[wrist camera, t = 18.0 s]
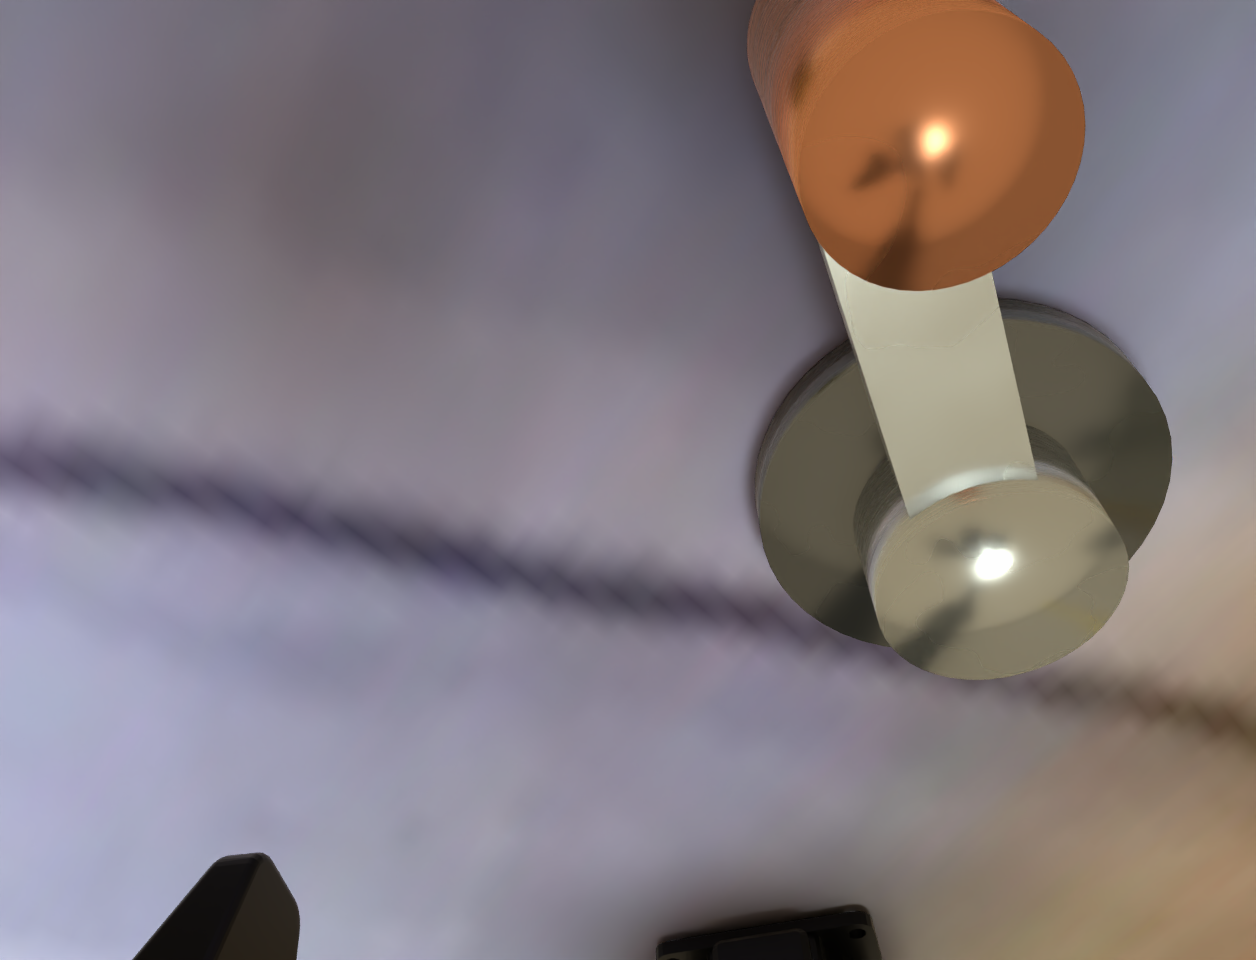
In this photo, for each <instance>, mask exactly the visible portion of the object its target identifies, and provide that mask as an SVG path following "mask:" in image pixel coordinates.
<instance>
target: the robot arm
mask: <svg viewBox="0 0 1256 960" xmlns="http://www.w3.org/2000/svg"><path fill="white" fill-rule="evenodd" d="M299 932H300V916H299V910H298V906H297V903H296V901H295V899H294V897H293V895H292V894H291V892H290V890H289V889H288V887H287V885H286V883H285V882H284V880H283V878H282V877H281V875H280V873H279V871H278V870H277V868H276V866H275V864H274V863H273V861H272V860H271V858H270V857H269V856H267V855H266V854H264V853H249V854H239V855H229V856H225V857H222V858H220V859H219V860H217V861H216V862H215V863H214V864H212V866H211V867H210V868H209V869H208V870H207V871H206V872H205V874H204V875H203V876H202V877H201V878H200V880H199V881H198V882H197V883H196V884H195V886H194V887H193V888H192V889H191V890H190V891H189V893H188V894H187V895H186V896H185V897H184V899H183V900H182V901H181V902H180V903H179V905H178V906H177V907H176V908H175V909H174V911H173V912H172V913H171V914H170V915H169V916H168V918H167V919H166V920H165V921H164V922H163V924H162V925H161V926H160V927H159V928H158V930H157V931H156V932H155V933H154V934H153V936H152V937H151V938H150V939H149V940H148V941H147V943H146V944H145V945H144V946H143V947H142V949H141V950H140V951H139V952H138V953H137V955H136V956H135V957H134V958H133V959H132V960H296V958H297V949H298V941H299ZM656 960H882V957H881V953H880V949H879V945H878V941H877V937H876V933H875V929H874V925H873V921H872V918H871V916H870V915H869V914H867V913H865V912H860V911H855V912H847V913H841V914H834V915H828V916H822V917H816V918H810V919H803V920H797V921H791V922H785V923H779V924H772V925H766V926H760V927H754V928H748V929H741V930H735V931H729V932H723V933H717V934H710V935H704V936H698V937H692V938H686V939H679V940H673V941H668V942H664V943H662V944H660V945H658V947H657V948H656Z"/></svg>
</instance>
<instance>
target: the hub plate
mask: <svg viewBox="0 0 1256 960" xmlns="http://www.w3.org/2000/svg"><path fill="white" fill-rule="evenodd" d="M998 303H999V307H1000V312H1001V316H1002V321H1003V325H1004V330H1005V334H1006V339H1007V343H1008V348H1009V352H1010V357H1011V361H1012V366H1013V370H1014V375H1015V379H1016V384H1017V388H1018V393H1019V397H1020V402H1021V406H1022V411H1023V415H1024V419H1025V424H1026V425H1029V426H1032V427H1034V428H1036V429H1038V430H1041V431H1043V432H1045V433H1046V434H1048V435H1049V436H1051V437H1052V438H1054V439H1055V440H1057V441H1058V442H1059V443H1060V444H1061V445H1062V446H1063V447H1064V448H1065V449H1066V450H1067V452H1068V453H1069V454H1070V456H1071V457H1072V459H1073V460H1074V462H1075V463H1076V465H1077V467H1078V468H1079V470H1080V471H1081V473H1082V475H1083V476H1084V478H1085V479H1086V481H1087V483H1088V484H1089V486H1090V487H1091V489H1092V491H1093V492H1094V494H1095V495H1096V497H1097V499H1098V500H1099V502H1100V503H1101V505H1102V507H1103V508H1104V510H1105V512H1106V513H1107V515H1108V516H1109V518H1110V520H1111V521H1112V523H1113V524H1114V526H1115V528H1116V529H1117V531H1118V532H1119V534H1120V536H1121V538H1122V540H1123V542H1124V544H1125V547H1126V551H1127V555H1128V561H1129V560H1130V559H1131V557H1132V556H1133V555H1134V553H1135V552H1136V551H1137V550H1138V548H1139V547H1140V546H1141V545H1142V543H1143V542H1144V540H1145V538H1146V537H1147V535H1148V533H1149V532H1150V530H1151V528H1152V527H1153V525H1154V524H1155V521H1156V519H1157V517H1158V515H1159V512H1160V510H1161V508H1162V506H1163V503H1164V500H1165V497H1166V493H1167V489H1168V486H1169V482H1170V475H1171V466H1172V447H1171V436H1170V432H1169V428H1168V424H1167V420H1166V416H1165V414H1164V412H1163V410H1162V407H1161V405H1160V403H1159V401H1158V399H1157V397H1156V395H1155V394H1154V392H1153V391H1152V390H1151V388H1150V387H1149V385H1148V384H1147V382H1146V381H1145V380H1144V378H1143V377H1142V376H1141V375H1140V373H1139V372H1138V371H1137V370H1136V368H1135V367H1134V366H1133V365H1132V363H1131V362H1130V361H1129V360H1128V359H1127V357H1126V356H1125V355H1124V354H1123V352H1122V351H1121V350H1120V349H1119V348H1118V347H1117V346H1116V345H1115V344H1114V343H1113V342H1112V341H1110V340H1109V339H1108V338H1107V337H1106V336H1105V335H1104V334H1102V333H1101V332H1099V331H1098V330H1096V329H1095V328H1094V327H1092V326H1091V325H1089V324H1088V323H1086V322H1084V321H1082V320H1080V319H1078V318H1076V317H1074V316H1072V315H1070V314H1068V313H1066V312H1063V311H1060V310H1057V309H1054V308H1050V307H1047V306H1044V305H1041V304H1036V303H1030V302H1024V301H1019V300H1012V299H998ZM886 459H887V455H886V452H885V449H884V446H883V443H882V440H881V437H880V434H879V430H878V427H877V424H876V421H875V418H874V415H873V412H872V409H871V406H870V403H869V399H868V396H867V393H866V390H865V387H864V384H863V381H862V378H861V375H860V371H859V368H858V365H857V362H856V359H855V356H854V353H853V350H852V347H851V343H850V340H847V341H846V342H845V343H843V344H842V345H840V346H839V347H838V348H836V349H835V350H834V351H832V352H831V353H829V354H828V355H827V356H825V357H824V358H823V359H822V360H821V361H820V362H819V363H818V364H816V365H815V366H814V367H813V368H812V369H811V370H810V371H809V372H808V373H807V374H806V375H805V376H804V377H803V378H802V379H801V380H800V381H799V383H798V384H797V385H796V386H795V387H794V388H793V390H792V391H791V392H790V393H789V394H788V396H787V397H786V399H785V400H784V402H783V403H782V405H781V406H780V408H779V409H778V411H777V412H776V414H775V416H774V418H773V420H772V422H771V424H770V426H769V428H768V430H767V432H766V434H765V437H764V440H763V443H762V446H761V449H760V453H759V456H758V460H757V467H756V473H755V502H756V508H757V514H758V519H759V525H760V531H761V536H762V542H763V548H764V551H765V553H766V556H767V559H768V562H769V565H770V567H771V569H772V571H773V572H774V574H775V576H776V578H777V580H778V581H779V583H780V585H781V586H782V587H783V588H784V590H785V591H786V592H787V593H788V595H789V596H790V597H791V598H792V599H793V600H794V601H795V602H796V603H797V604H798V605H799V606H800V607H801V608H802V609H803V610H805V611H806V612H807V613H808V614H810V615H811V616H813V617H814V618H815V619H817V620H818V621H820V622H821V623H823V624H824V625H826V626H828V627H830V628H832V629H834V630H836V631H838V632H840V633H842V634H845V635H848V636H850V637H853V638H856V639H859V640H861V641H865V642H869V643H873V644H877V645H881V646H887V647H891V646H890V644H889V643H888V642H887V640H886V639H885V637H884V635H883V633H882V631H881V629H880V626H879V622H878V619H877V616H876V612H875V609H874V605H873V602H872V598H871V595H870V591H869V588H868V585H867V581H866V578H865V574H864V571H863V567H862V564H861V561H860V557H859V554H858V550H857V547H856V543H855V539H854V532H853V519H854V512H855V508H856V504H857V501H858V498H859V496H860V494H861V491H862V489H863V488H864V486H865V484H866V483H867V481H868V479H869V478H870V477H871V475H872V474H873V473H874V471H875V470H876V469H877V468H878V467H879V466H880V465H881V464H882V463H883V462H884V461H885V460H886Z"/></svg>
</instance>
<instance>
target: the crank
mask: <svg viewBox="0 0 1256 960" xmlns="http://www.w3.org/2000/svg"><path fill="white" fill-rule="evenodd" d="M747 55H748V63H749V67H750V71H751V75H752V78H753V81H754V84H755V86H756V89H757V91H758V94H759V97H760V99H761V102H762V104H763V107H764V110H765V112H766V115H767V118H768V120H769V123H770V125H771V128H772V131H773V133H774V136H775V138H776V141H777V144H778V146H779V149H780V151H781V154H782V157H783V159H784V162H785V164H786V167H787V170H788V172H789V175H790V178H791V180H792V183H793V185H794V188H795V191H796V193H797V196H798V198H799V201H800V204H801V206H802V209H803V211H804V214H805V217H806V219H807V221H808V224H809V226H810V229H811V230H812V232H813V234H814V236H815V237H816V239H817V241H818V244H819V247H820V250H821V253H822V256H823V260H824V263H825V266H826V269H827V272H828V275H829V278H830V281H831V284H832V288H833V291H834V294H835V297H836V300H837V303H838V306H839V309H840V312H841V316H842V319H843V322H844V325H845V328H846V331H847V334H848V337H849V340H850V343H851V347H852V350H853V353H854V356H855V359H856V362H857V365H858V368H859V371H860V375H861V378H862V381H863V384H864V387H865V390H866V393H867V396H868V399H869V403H870V406H871V409H872V412H873V415H874V418H875V421H876V424H877V427H878V430H879V434H880V437H881V440H882V443H883V446H884V449H885V452H886V455H887V459H886V460H885V461H884V462H883V463H882V464H881V465H880V466H879V467H878V468H877V469H876V470H875V471H874V473H873V474H872V475H871V477H870V478H869V479H868V481H867V483H866V484H865V486H864V488H863V489H862V491H861V494H860V496H859V498H858V501H857V504H856V508H855V512H854V519H853V532H854V539H855V543H856V547H857V550H858V554H859V557H860V561H861V564H862V567H863V571H864V574H865V578H866V581H867V585H868V588H869V591H870V595H871V598H872V602H873V605H874V609H875V612H876V616H877V619H878V622H879V626H880V629H881V631H882V633H883V635H884V637H885V639H886V640H887V642H888V643H889V644H890V646H891V647H892V648H893V649H894V650H895V651H896V652H897V653H898V654H899V655H900V656H901V657H903V658H904V659H905V660H907V661H908V662H909V663H911V664H913V665H915V666H917V667H919V668H921V669H923V670H926V671H928V672H931V673H933V674H937V675H941V676H945V677H951V678H958V679H971V680H981V679H995V678H1003V677H1009V676H1013V675H1018V674H1022V673H1025V672H1029V671H1032V670H1035V669H1038V668H1040V667H1043V666H1045V665H1048V664H1050V663H1052V662H1054V661H1056V660H1058V659H1060V658H1062V657H1064V656H1066V655H1068V654H1069V653H1071V652H1072V651H1074V650H1075V649H1077V648H1079V647H1080V646H1081V645H1083V644H1084V643H1085V642H1086V641H1088V640H1089V639H1090V638H1091V637H1092V636H1094V635H1095V634H1096V633H1097V632H1098V631H1099V630H1100V629H1101V628H1102V627H1103V626H1104V624H1105V623H1106V622H1107V621H1108V619H1109V618H1110V617H1111V616H1112V614H1113V613H1114V611H1115V609H1116V608H1117V606H1118V605H1119V603H1120V600H1121V598H1122V596H1123V594H1124V591H1125V588H1126V584H1127V581H1128V572H1129V563H1128V555H1127V551H1126V547H1125V544H1124V542H1123V540H1122V538H1121V536H1120V534H1119V532H1118V531H1117V529H1116V528H1115V526H1114V524H1113V523H1112V521H1111V520H1110V518H1109V516H1108V515H1107V513H1106V512H1105V510H1104V508H1103V507H1102V505H1101V503H1100V502H1099V500H1098V499H1097V497H1096V495H1095V494H1094V492H1093V491H1092V489H1091V487H1090V486H1089V484H1088V483H1087V481H1086V479H1085V478H1084V476H1083V475H1082V473H1081V471H1080V470H1079V468H1078V467H1077V465H1076V463H1075V462H1074V460H1073V459H1072V457H1071V456H1070V454H1069V453H1068V452H1067V450H1066V449H1065V448H1064V447H1063V446H1062V445H1061V444H1060V443H1059V442H1058V441H1057V440H1055V439H1054V438H1052V437H1051V436H1049V435H1048V434H1046V433H1045V432H1043V431H1041V430H1038V429H1036V428H1034V427H1032V426H1029V425H1026V424H1025V419H1024V415H1023V411H1022V406H1021V402H1020V397H1019V393H1018V388H1017V384H1016V379H1015V375H1014V370H1013V366H1012V361H1011V357H1010V352H1009V348H1008V343H1007V339H1006V334H1005V330H1004V325H1003V321H1002V316H1001V312H1000V307H999V303H998V298H997V294H996V289H995V285H994V280H993V276H992V271H994V270H996V269H997V268H999V267H1001V266H1003V265H1004V264H1006V263H1007V262H1009V261H1010V260H1011V259H1013V258H1014V257H1016V256H1017V255H1018V254H1020V253H1021V252H1022V251H1023V250H1024V249H1025V248H1027V247H1028V246H1029V245H1030V244H1031V243H1032V242H1033V241H1034V240H1035V239H1036V238H1037V237H1038V236H1039V235H1040V234H1041V233H1042V232H1043V231H1044V230H1045V229H1046V227H1047V226H1048V225H1049V223H1050V222H1051V221H1052V219H1053V218H1054V217H1055V215H1056V214H1057V213H1058V211H1059V209H1060V208H1061V206H1062V204H1063V203H1064V201H1065V199H1066V198H1067V196H1068V194H1069V191H1070V189H1071V187H1072V185H1073V183H1074V181H1075V178H1076V175H1077V172H1078V168H1079V165H1080V162H1081V157H1082V152H1083V147H1084V138H1085V115H1084V105H1083V101H1082V96H1081V92H1080V88H1079V86H1078V83H1077V81H1076V78H1075V76H1074V73H1073V71H1072V70H1071V68H1070V66H1069V65H1068V63H1067V61H1066V60H1065V58H1064V57H1063V55H1062V54H1061V53H1060V52H1059V51H1058V49H1057V48H1056V47H1055V46H1054V45H1053V44H1052V43H1051V42H1050V41H1049V40H1048V39H1046V38H1045V37H1044V36H1043V35H1042V34H1041V33H1039V32H1038V31H1037V30H1035V29H1034V28H1033V27H1031V26H1030V25H1028V24H1027V23H1026V22H1024V21H1023V20H1021V19H1020V18H1019V17H1017V16H1016V15H1014V14H1013V13H1012V12H1010V11H1009V10H1008V9H1006V8H1005V7H1003V6H1002V5H1001V4H999V3H998V2H996V1H995V0H756V1H755V4H754V6H753V9H752V13H751V17H750V21H749V26H748V34H747Z"/></svg>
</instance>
